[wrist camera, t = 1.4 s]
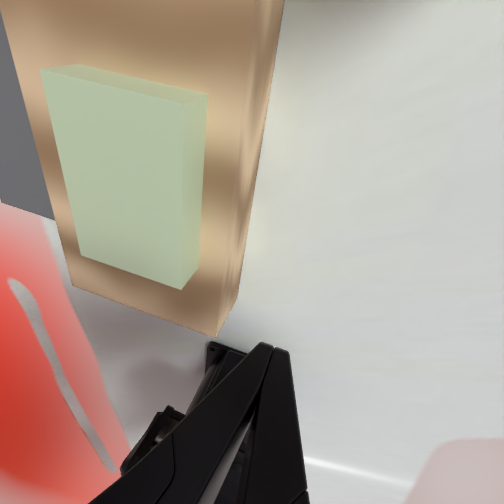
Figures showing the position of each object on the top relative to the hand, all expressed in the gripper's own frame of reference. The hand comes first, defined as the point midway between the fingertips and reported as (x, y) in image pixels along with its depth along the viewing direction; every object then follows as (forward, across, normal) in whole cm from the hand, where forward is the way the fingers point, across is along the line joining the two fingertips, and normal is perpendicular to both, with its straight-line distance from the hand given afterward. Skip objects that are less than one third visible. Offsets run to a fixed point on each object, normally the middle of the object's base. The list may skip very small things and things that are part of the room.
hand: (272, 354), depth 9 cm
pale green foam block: (+7, +8, 0) cm, 11 cm away
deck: (+11, +10, 0) cm, 15 cm away
